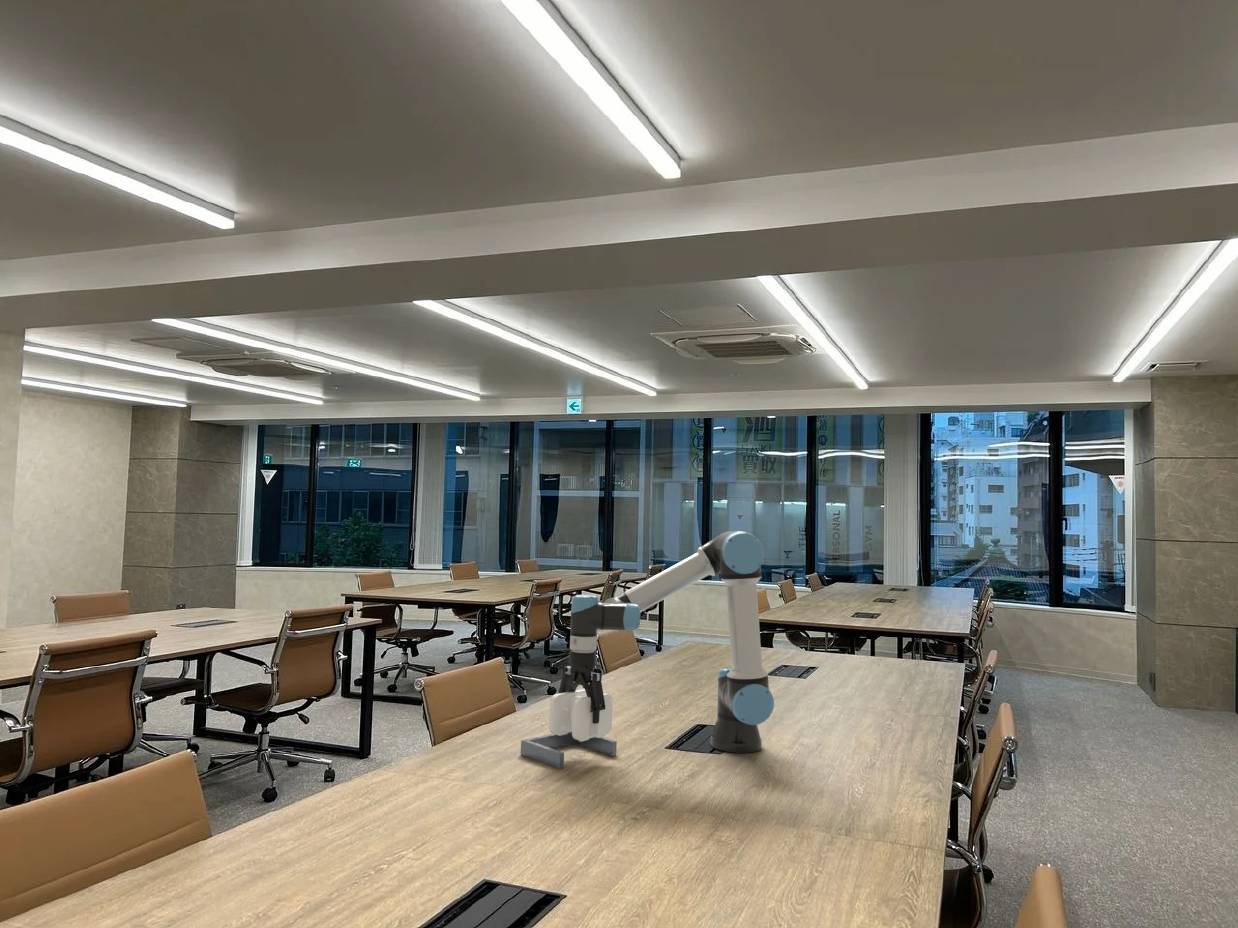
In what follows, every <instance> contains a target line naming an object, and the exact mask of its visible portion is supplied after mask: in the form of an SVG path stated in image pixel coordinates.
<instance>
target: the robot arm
mask: <svg viewBox="0 0 1238 928" xmlns="http://www.w3.org/2000/svg"><path fill="white" fill-rule="evenodd" d="M764 559H765V549H764V545H763V544H762V542H761V541H760V540H759V538H758V537H757V536H755V535H754V534H752V533H750V532H749V531H748V532H747V531H743V530H742V531H741V530H737V531H736V530H728V531H724V532H722V533H721V534H719V535H717V536H716V537H714V538H713V539H711V540H709V541H708V542H707V543H704V545H702V546H699V547H698V548H697V552H696V553H693V554H692V555H690V556H689V557H688V556H687V558H685V559H683V560H681V561H679V562H677V563H675V564H674V565H672V566H669V567H668V568H666V569H665V570H662V571H661V572H659V573H657V574H655V575H653V576H651V577H650V578H648V579H646V580H644V581H642V582H640V583H639V584H636V585H635V586H633V587H631V588H630V589H628V590H626V591H624V592H623V593H622V592H621V594H619V595H617V596H614V597H610V598H608V599H606V600H605V601H604V602H600V601H599V597H598V596H597V595H592V594H576V595H574V596H573V597H572V598H571V610H570V631H569V632H570V634H569V635H570V637H569V649H570V651H569V655H568V657H569V658H568V663H569V665H567V666H563V668H562V677H561V682H560V685H559V688H558V689H559V690H558V693H557V694H559V693H565V692H574V691H576V690H577V689H578V686H579V685H581V686H582V689H585V691H586V694H587V697H590V698H591V710H590V727H589V736H593V735H597V734H598V723H599V713H600V711H601V710H605V701H604V695H603V694H604V690H603V684H602V678H603V677H602V676H603V674H602V673H601V672H595V671H594V666H595V665H596V664H597V652H596V650H597V645H598V644H597V643H598V640H597V637H598V633H597V632H598V630H600V631H603V630H604V631H605V630H606V631H626V632H628V631H637V630H639V628H640V625H641V613H642V612H643V611H645V610H647V609H649V608H651V607H653V606H654V605H656V604H658V603H660V602H662V601H663V600H665V599H667V598H669V597H671V596H673V595H675V594H676V593H678V592H681V591H682V590H684V589H686V588H688V587H689V586H692V585H693V584H696V582H698V581H700V580H703V579H704V578H706V577H709V576H712V577H715V576H717V575H718V574H720V580H721V581H722V582H723V583H724V584H725V585H726V597H727V609H728V610H727V612H728V613H727V615H728V627H729V641H730V642H729V643H730V644H729V645H730V660H731V668H720V670H719V671H718V675H717V710H716V711H717V716H716V722H715V724H714V727H713V731H712V734H711V736H710V745H711V747H712V748H714V749H716V750H719V751H722V752H728V753H736V754H743V753H744V754H749V753H755V752H759V751H760V750H761V749H762V744H763V743H762V741H763V740H762V738H761V735H760V730H759V726H758V725H760V724H763V723H764V722H766V721H767V720H768V719H769V718H770V717H771V716H772V713H773V711H774V708H775V700H774V696H773V694H772V692H771V691H770V686H769V672H768V671H767V670H765V669H764V667H763V663H762V662H763V661H762V646H761V633H760V631H761V630H760V617H759V604H758V586H757V584H758V582H759V581H760V580H761V579H762V567H761V566H762V564H763V563H764ZM595 705H596V707H595ZM600 705H601V706H600Z"/></svg>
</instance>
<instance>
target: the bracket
mask: <svg viewBox="0 0 1238 928" xmlns="http://www.w3.org/2000/svg"><path fill="white" fill-rule="evenodd" d="M617 742H618V741H617V740H614V739H611V738H608V737H606V736H603V737H599V738H597V737H593V738H589V740H586V741H582V742H580V741H579V740H576V739H574V738H573V737H572V732H569V733H567V734H565V735H561V736H559V735H556V734H553V733H551V734H544V735H540V736H535V737H530V738H526V739H521V740H520V755H521V756H524V757H526V758H529V759H530V760H534V761H537V762H540V763H542V764H545V765H548V766H551V767H552V768H556V769H558V770H560V769H561V770H562V769H564V768H565V766H564V765H565V752H564V751H561V750H558V749H562V748H567V747H570V746H575V745H577V746H580V747H583V748H586V749H590V750H592V751H595V752H598V753H601V754H603V755H607V756H610V757H615V756H617Z"/></svg>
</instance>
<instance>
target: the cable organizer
mask: <svg viewBox="0 0 1238 928" xmlns="http://www.w3.org/2000/svg"><path fill="white" fill-rule="evenodd" d="M603 695H604V701H605V710H601V711H600V713H599V723H598V734H597V735H593V736H589V727H590V710H591V698H590V697H587V694H586V691H585V689H584V688H582V689H576V690H575V691H574V692H565V693H559V694H558V693H555V694H553V695H552V696H551V698H550V701H549V721H548V722H549V723H548V724H549V725H548V730H549V732H550V733H551V734H556V735H559V736H561V735H565V734H567V733H569V732H572V737H573V738H574V739H576V740H579V741H580V742H582V741H586V740H589V738H593V737H597V738H599V737H606V735H608V734H609V733H610V732H611V730H612V725H613V724H612V723H613V722H612V721H613V699H614V698H613V696H612V694H609V693H603ZM600 706H601V705H600ZM595 707H596V705H595Z"/></svg>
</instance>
